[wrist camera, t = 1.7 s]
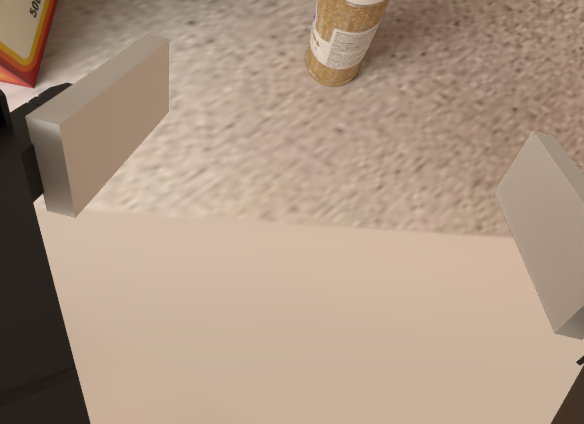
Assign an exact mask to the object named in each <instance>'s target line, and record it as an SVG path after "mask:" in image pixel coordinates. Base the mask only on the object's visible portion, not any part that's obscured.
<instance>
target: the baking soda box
mask: <svg viewBox="0 0 584 424" xmlns="http://www.w3.org/2000/svg"><path fill="white" fill-rule="evenodd" d="M56 4H57V0H0V82H5V83H10V84H15V85H20V86H25V87H30V88H34V86H35V82H36V78H37V75H38V71H39V67H40V63H41V60H42V56H43V52H44V49H45V45H46V41H47V37H48V34H49V30H50V26H51V23H52V19H53V15H54V11H55V8H56Z"/></svg>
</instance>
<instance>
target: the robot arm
mask: <svg viewBox="0 0 584 424" xmlns="http://www.w3.org/2000/svg"><path fill="white" fill-rule="evenodd" d="M168 112H169V40H168V39H164V38H160V37H156V36H151V35H146V36H145V37H143V38H142V39H140V40H139V41H137V42H136V43H134V44H133V45H131V46H130V47H128V48H127V49H125V50H124V51H122V52H121V53H119V54H118V55H116V56H115V57H113V58H112V59H110V60H109V61H107V62H106V63H104V64H103V65H101V66H100V67H98V68H97V69H95V70H94V71H92V72H91V73H89V74H88V75H86V76H85V77H83V78H82V79H80V80H79V81H77V82H76V83H74V84H71V83H64V84H61V85H57V86H54V87H50V88H49V89H47V90H45V91H44V92H42V93H41V94H39V95H38V97H34V98H33V99H31V100H29V102H28V103H25V104H23V105H22V106H20V107H18V108H17V109H15V110H14V111H12V112H9V108H8V104H7V100H6V96H5V94H4V93H3V91H2V90H0V424H90V420H89V416H88V412H87V408H86V405H85V401H84V397H83V393H82V389H81V385H80V381H79V378H78V374H77V370H76V367H75V363H74V359H73V355H72V351H71V347H70V343H69V339H68V336H67V332H66V328H65V324H64V320H63V317H62V313H61V309H60V305H59V301H58V297H57V293H56V289H55V286H54V282H53V278H52V274H51V270H50V266H49V262H48V258H47V255H46V251H45V247H44V243H43V239H42V235H41V231H40V228H39V224H38V220H37V216H36V212H35V208H34V204H33V202H34V201H35V200H36V199H37V198H38V197H40V196H41V195H42V194H43V195H44V200H45V204H46V208H47V211H50V212H54V213H58V214H62V215H67V216H71V217H77V215H78V214H79V213H80V212H81V211H82V210H83V209H84V208H85V206H86V205H87V204H88V203H89V202H90V201H91V200H92V198H93V197H94V196H95V195H96V194H97V193H98V192H99V191H100V189H101V188H102V187H103V186H104V185H105V184H106V183H107V181H108V180H109V179H110V178H111V177H112V176H113V175H114V173H115V172H116V171H117V170H118V169H119V168H120V167H121V166H122V164H123V163H124V162H125V161H126V160H127V159H128V158H129V156H130V155H131V154H132V153H133V152H134V151H135V150H136V148H137V147H138V146H139V145H140V144H141V143H142V142H143V141H144V139H145V138H146V137H147V136H148V135H149V134H150V133H151V131H152V130H153V129H154V128H155V127H156V126H157V125H158V124H159V122H160V121H161V120H162V119H163V118H164V117H165V116H166V114H167V113H168ZM494 194H495V196H496V198H497V201H498V203H499V205H500V208H501V210H502V212H503V215H504V217H505V219H506V222H507V224H508V226H509V228H510V231H511V233H512V235H513V238H514V240H515V242H516V245H517V247H518V249H519V252H520V254H521V256H522V258H523V261H524V263H525V266H526V268H527V270H528V273H529V275H530V277H531V280H532V282H533V284H534V286H535V289H536V291H537V293H538V296H539V298H540V300H541V303H542V305H543V307H544V310H545V312H546V314H547V317H548V319H549V321H550V324H551V326H552V328H553V330H554V333H556V334H560V335H564V336H568V337H573V338H577V339H581V340H582V339H583V338H584V174H583V173H582V171H581V170H580V169H579V168H578V166H577V165H576V164H575V162H574V161H573V160H572V159H571V157H570V156H569V155H568V153H567V152H566V151H565V149H564V148H563V147H562V146H561V144H560V143H559V142H558V140H557V139H556V138H555V137H554V136H553V135H549V134H545V133H541V132H537V131H532V132H531V134H530V136H529V137H528V139H527V140H526V142H525V143H524V145H523V147H522V148H521V150H520V151H519V153H518V155H517V156H516V158H515V159H514V161H513V162H512V164H511V166H510V167H509V169H508V170H507V172H506V173H505V175H504V177H503V178H502V180H501V181H500V183H499V184H498V186H497V188H496V189H495V191H494ZM576 363H577V364H579V365H582V364H583V363H584V356H583V357H582V358H580V360H578V361H577V362H576ZM551 424H584V366H583V368H582V369H581V371H580V373H579V375H578V376H577V378H576V380H575V382H574V384H573V385H572V387H571V389H570V391H569V392H568V394H567V396H566V398H565V400H564V402H563V403H562V405H561V407H560V408H559V410H558V412H557V414H556V415H555V417H554V419H553V421H552V423H551Z"/></svg>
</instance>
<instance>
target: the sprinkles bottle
mask: <svg viewBox="0 0 584 424" xmlns="http://www.w3.org/2000/svg"><path fill="white" fill-rule="evenodd" d="M388 2H389V0H317V3H316V8H315V14H314V19H313V24H312V29H311V34H310V43H309V46H308V49H307V52H306V66H307V68H308V71H309V73H310V75H311V76H312V77H313V78H314V79H315V80H317V81H318V82H320V83H322V84H324V85H327V86H340V85H344V84H346V83H348V82H350V80H351V79H353V78H354V76H355V75H356V73H357V72H358V69H359V65H360V62H361V59H362V58H363V57H364V55H365V53H366V51H367V49H368V47H369V45H370V43H371V41H372V39H373V37H374V35H375V33H376V30H377V28H378V26H379V24H380V22H381V20H382V18H383V16H384V13H385V9H386V7H387V5H388Z"/></svg>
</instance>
